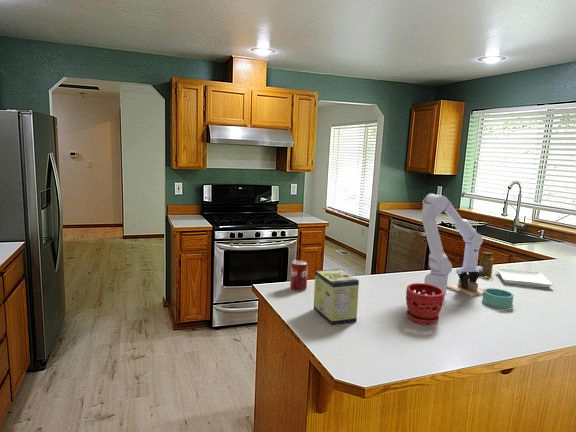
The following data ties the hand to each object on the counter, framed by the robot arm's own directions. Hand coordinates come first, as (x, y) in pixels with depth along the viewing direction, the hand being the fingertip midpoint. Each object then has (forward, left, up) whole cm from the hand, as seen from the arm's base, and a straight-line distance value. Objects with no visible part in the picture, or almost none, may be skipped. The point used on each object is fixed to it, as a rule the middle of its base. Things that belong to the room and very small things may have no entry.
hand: (467, 287), depth 185 cm
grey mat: (0, 0, -2) cm, 2 cm away
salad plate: (+41, +2, -2) cm, 41 cm away
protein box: (-72, -2, -2) cm, 72 cm away
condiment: (+31, +16, -2) cm, 35 cm away
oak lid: (0, 0, -1) cm, 1 cm away
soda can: (-71, +29, -2) cm, 77 cm away
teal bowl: (-1, -16, -2) cm, 16 cm away
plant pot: (-43, -17, -2) cm, 46 cm away
